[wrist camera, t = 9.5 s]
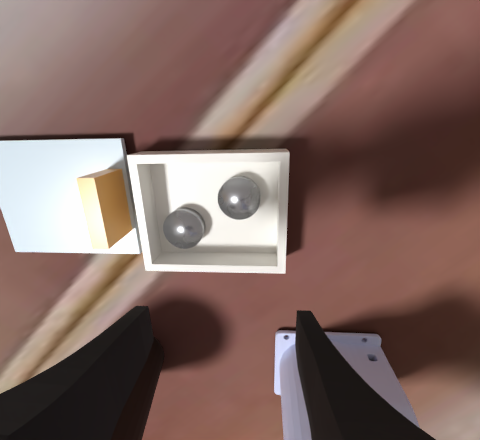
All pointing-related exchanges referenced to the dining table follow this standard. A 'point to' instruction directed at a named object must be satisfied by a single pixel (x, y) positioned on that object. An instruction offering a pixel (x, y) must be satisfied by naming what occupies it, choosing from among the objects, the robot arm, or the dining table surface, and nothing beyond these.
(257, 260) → the tub
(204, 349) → the dining table surface
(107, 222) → the lid
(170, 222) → the grey shiny rounded part
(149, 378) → the coffee mug
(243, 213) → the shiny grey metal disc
